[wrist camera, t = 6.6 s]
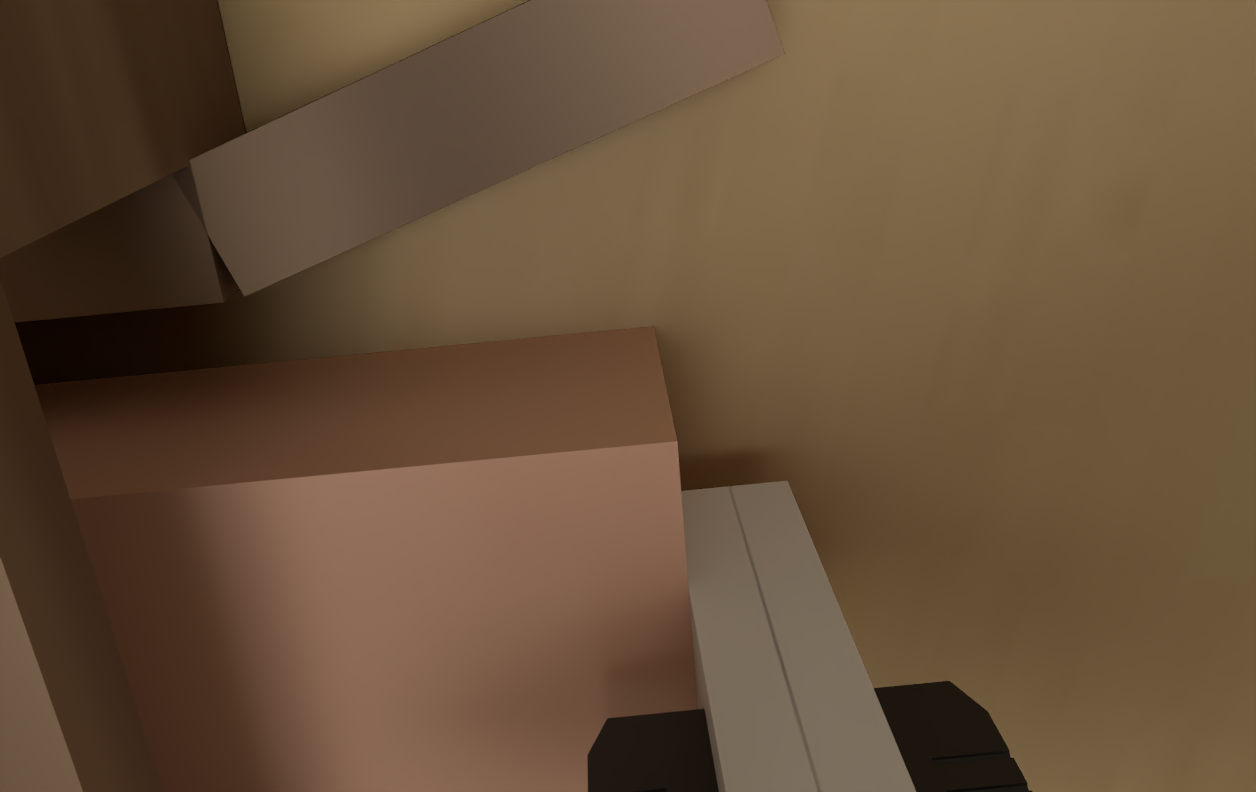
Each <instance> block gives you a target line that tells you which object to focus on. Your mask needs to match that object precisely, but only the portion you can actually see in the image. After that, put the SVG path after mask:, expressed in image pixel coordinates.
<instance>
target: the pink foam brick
mask: <svg viewBox="0 0 1256 792" xmlns="http://www.w3.org/2000/svg"><path fill="white" fill-rule="evenodd" d="M34 386H35V389H36V392H37V395H38V398H39V401H40V405H41V408H42V411H43V414H44V417H45V420H46V424H47V427H48V430H49V433H50V436H51V439H52V442H53V446H54V449H55V452H56V455H57V458H58V461H59V465H60V468H61V471H62V474H63V477H64V480H65V483H66V487H67V490H68V493H69V496H70V499H71V502H72V506H73V509H74V512H75V515H76V518H77V521H78V524H79V528H80V531H81V534H82V537H83V540H84V543H85V547H86V550H87V553H88V556H89V559H90V562H91V565H92V569H93V572H94V575H95V578H96V581H97V584H98V588H99V591H100V594H101V597H102V600H103V603H104V606H105V610H106V613H107V616H108V619H109V622H110V625H111V629H112V632H113V635H114V638H115V641H116V644H117V647H118V651H119V654H120V657H121V660H122V663H123V666H124V670H125V673H126V676H127V679H128V682H129V685H130V688H131V692H132V695H133V698H134V701H135V704H136V707H137V711H138V714H139V717H140V720H141V723H142V726H143V729H144V733H145V736H146V739H147V742H148V745H149V748H150V752H151V755H152V758H153V761H154V764H155V767H156V770H157V774H158V777H159V780H160V783H161V786H162V789H163V792H588V758H587V755H588V753H589V751H590V750H591V748H592V746H593V744H594V742H595V740H596V738H597V737H598V735H599V733H600V731H601V729H602V727H603V725H604V724H605V722H606V720H607V718H615V717H625V716H635V715H645V714H656V713H666V712H676V711H686V710H696V709H697V696H696V683H695V670H694V656H693V643H692V629H691V616H690V603H689V589H688V576H687V562H686V549H685V536H684V522H683V509H682V495H681V482H680V469H679V455H678V442H677V437H676V432H675V427H674V422H673V417H672V413H671V408H670V403H669V398H668V393H667V389H666V384H665V379H664V374H663V369H662V365H661V360H660V355H659V350H658V345H657V341H656V336H655V331H654V326H651V327H640V328H630V329H619V330H609V331H598V332H588V333H577V334H567V335H556V336H546V337H535V338H524V339H514V340H503V341H493V342H482V343H472V344H461V345H451V346H440V347H430V348H419V349H409V350H398V351H388V352H377V353H367V354H356V355H346V356H335V357H325V358H314V359H304V360H293V361H283V362H272V363H262V364H251V365H241V366H230V367H220V368H209V369H199V370H188V371H178V372H167V373H157V374H146V375H136V376H125V377H114V378H104V379H93V380H83V381H72V382H62V383H51V384H41V385H34Z"/></svg>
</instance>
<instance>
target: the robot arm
mask: <svg viewBox="0 0 1256 792" xmlns="http://www.w3.org/2000/svg"><path fill="white" fill-rule="evenodd" d="M681 495H682V509H683V522H684V536H685V549H686V562H687V576H688V589H689V603H690V616H691V629H692V643H693V656H694V670H695V683H696V696H697V709H696V710H686V711H676V712H666V713H656V714H645V715H635V716H625V717H615V718H607V720H606V722H605V724H604V725H603V727H602V729H601V731H600V733H599V735H598V737H597V738H596V740H595V742H594V744H593V746H592V748H591V750H590V751H589V753H588V755H587V758H588V792H1032V791H1029V790H1028V786H1027V781H1026V780H1025V778H1024V776H1023V774H1022V772H1021V771H1020V769H1019V767H1018V765H1017V763H1016V762H1015V760H1014V758H1011V757H1010V754H1009V749H1008V747H1007V745H1006V744H1005V742H1004V740H1003V738H1002V736H1001V735H1000V733H999V731H998V729H997V727H996V726H995V724H994V722H993V720H992V718H991V717H990V715H989V713H988V711H986V710H985V709H984V708H983V707H981V706H980V705H979V704H978V703H976V702H975V701H974V700H973V699H971V698H970V697H969V696H968V695H966V694H965V693H964V692H963V691H961V690H960V689H959V688H958V687H956V686H955V685H954V684H953V683H951V682H950V681H943V682H933V683H923V684H913V685H903V686H893V687H883V688H873V686H872V684H871V681H870V679H869V676H868V674H867V672H866V669H865V667H864V664H863V662H862V659H861V657H860V655H859V652H858V650H857V647H856V645H855V643H854V640H853V638H852V635H851V633H850V630H849V628H848V626H847V623H846V621H845V618H844V616H843V614H842V611H841V609H840V606H839V604H838V602H837V599H836V597H835V594H834V592H833V589H832V587H831V585H830V582H829V580H828V577H827V575H826V573H825V570H824V568H823V565H822V563H821V560H820V558H819V556H818V553H817V551H816V548H815V546H814V544H813V541H812V539H811V536H810V534H809V532H808V529H807V527H806V524H805V522H804V519H803V517H802V515H801V512H800V510H799V507H798V505H797V503H796V500H795V498H794V495H793V493H792V490H791V488H790V486H789V483H788V481H778V482H768V483H758V484H748V485H737V486H727V487H717V488H707V489H697V490H686V491H681Z"/></svg>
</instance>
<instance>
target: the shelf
mask: <svg viewBox="0 0 1256 792" xmlns="http://www.w3.org/2000/svg"><path fill="white" fill-rule="evenodd" d="M784 54H785V51H784V49H783V46H782V43H781V40H780V38H779V35H778V32H777V29H776V26H775V24H774V21H773V18H772V15H771V12H770V10H769V7H768V4H767V1H766V0H529V1H527V2H525V3H523V4H521V5H518V6H516V7H514V8H512V9H510V10H508V11H506V12H503V13H501V14H499V15H497V16H495V17H493V18H491V19H488V20H486V21H484V22H482V23H480V24H478V25H476V26H474V27H471V28H469V29H467V30H465V31H463V32H461V33H459V34H456V35H454V36H452V37H450V38H448V39H446V40H444V41H442V42H439V43H437V44H435V45H433V46H431V47H429V48H427V49H424V50H422V51H420V52H418V53H416V54H414V55H412V56H410V57H407V58H405V59H403V60H401V61H399V62H397V63H395V64H392V65H390V66H388V67H386V68H384V69H382V70H380V71H377V72H375V73H373V74H371V75H369V76H367V77H365V78H363V79H360V80H358V81H356V82H354V83H352V84H350V85H348V86H345V87H343V88H341V89H339V90H337V91H335V92H333V93H331V94H328V95H326V96H324V97H322V98H320V99H318V100H316V101H313V102H311V103H309V104H307V105H305V106H303V107H301V108H298V109H296V110H294V111H292V112H290V113H288V114H286V115H284V116H281V117H279V118H277V119H275V120H273V121H271V122H269V123H266V124H264V125H262V126H260V127H258V128H256V129H254V130H252V131H249V132H247V133H245V128H244V123H243V119H242V114H241V110H240V105H239V100H238V96H237V91H236V87H235V82H234V77H233V73H232V68H231V64H230V59H229V54H228V50H227V45H226V41H225V36H224V31H223V27H222V22H221V18H220V13H219V8H218V4H217V0H0V792H163V789H162V786H161V783H160V780H159V777H158V774H157V770H156V767H155V764H154V761H153V758H152V755H151V752H150V748H149V745H148V742H147V739H146V736H145V733H144V729H143V726H142V723H141V720H140V717H139V714H138V711H137V707H136V704H135V701H134V698H133V695H132V692H131V688H130V685H129V682H128V679H127V676H126V673H125V670H124V666H123V663H122V660H121V657H120V654H119V651H118V647H117V644H116V641H115V638H114V635H113V632H112V629H111V625H110V622H109V619H108V616H107V613H106V610H105V606H104V603H103V600H102V597H101V594H100V591H99V588H98V584H97V581H96V578H95V575H94V572H93V569H92V565H91V562H90V559H89V556H88V553H87V550H86V547H85V543H84V540H83V537H82V534H81V531H80V528H79V524H78V521H77V518H76V515H75V512H74V509H73V506H72V502H71V499H70V496H69V493H68V490H67V487H66V483H65V480H64V477H63V474H62V471H61V468H60V465H59V461H58V458H57V455H56V452H55V449H54V446H53V442H52V439H51V436H50V433H49V430H48V427H47V424H46V420H45V417H44V414H43V411H42V408H41V405H40V401H39V398H38V395H37V392H36V389H35V386H34V383H33V379H32V376H31V373H30V370H29V367H28V364H27V360H26V357H25V354H24V351H23V348H22V345H21V342H20V338H19V335H18V332H17V329H16V326H15V322H25V321H36V320H46V319H56V318H67V317H77V316H88V315H98V314H108V313H119V312H129V311H139V310H150V309H160V308H170V307H181V306H191V305H201V304H212V303H222V302H225V301H226V300H227V299H228V298H229V297H230V296H231V295H232V294H233V293H234V292H235V291H236V290H237V289H239V288H240V290H241V291H242V293H243V295H244V296H247V295H249V294H252V293H254V292H256V291H258V290H261V289H263V288H265V287H267V286H269V285H272V284H274V283H276V282H278V281H281V280H283V279H285V278H287V277H289V276H292V275H294V274H296V273H298V272H301V271H303V270H305V269H307V268H309V267H312V266H314V265H316V264H318V263H321V262H323V261H325V260H327V259H330V258H332V257H334V256H336V255H338V254H341V253H343V252H345V251H347V250H350V249H352V248H354V247H356V246H358V245H361V244H363V243H365V242H367V241H370V240H372V239H374V238H376V237H378V236H381V235H383V234H385V233H387V232H390V231H392V230H394V229H396V228H398V227H401V226H403V225H405V224H407V223H410V222H412V221H414V220H416V219H419V218H421V217H423V216H425V215H427V214H430V213H432V212H434V211H436V210H439V209H441V208H443V207H445V206H447V205H450V204H452V203H454V202H456V201H459V200H461V199H463V198H465V197H467V196H470V195H472V194H474V193H476V192H479V191H481V190H483V189H485V188H488V187H490V186H492V185H494V184H496V183H499V182H501V181H503V180H505V179H508V178H510V177H512V176H514V175H516V174H519V173H521V172H523V171H525V170H528V169H530V168H532V167H534V166H536V165H539V164H541V163H543V162H545V161H548V160H550V159H552V158H554V157H557V156H559V155H561V154H563V153H565V152H568V151H570V150H572V149H574V148H577V147H579V146H581V145H583V144H585V143H588V142H590V141H592V140H594V139H597V138H599V137H601V136H603V135H605V134H608V133H610V132H612V131H614V130H617V129H619V128H621V127H623V126H626V125H628V124H630V123H632V122H634V121H637V120H639V119H641V118H643V117H646V116H648V115H650V114H652V113H654V112H657V111H659V110H661V109H663V108H666V107H668V106H670V105H672V104H674V103H677V102H679V101H681V100H683V99H686V98H688V97H690V96H692V95H694V94H697V93H699V92H701V91H703V90H706V89H708V88H710V87H712V86H715V85H717V84H719V83H721V82H723V81H726V80H728V79H730V78H732V77H735V76H737V75H739V74H741V73H743V72H746V71H748V70H750V69H752V68H755V67H757V66H759V65H761V64H763V63H766V62H768V61H770V60H772V59H775V58H777V57H779V56H781V55H784Z"/></svg>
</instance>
